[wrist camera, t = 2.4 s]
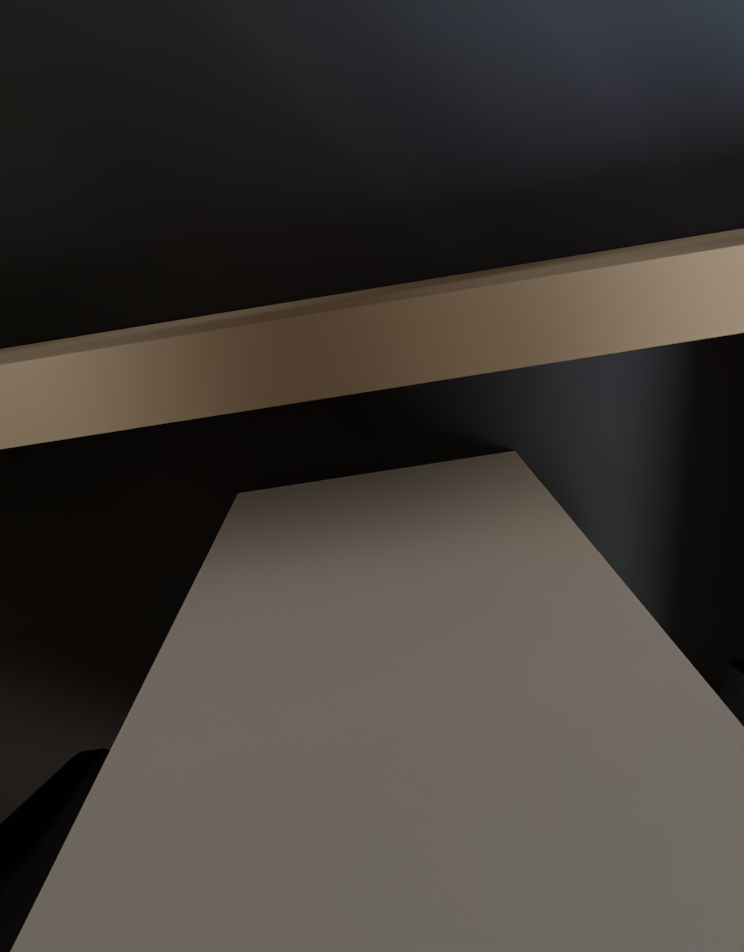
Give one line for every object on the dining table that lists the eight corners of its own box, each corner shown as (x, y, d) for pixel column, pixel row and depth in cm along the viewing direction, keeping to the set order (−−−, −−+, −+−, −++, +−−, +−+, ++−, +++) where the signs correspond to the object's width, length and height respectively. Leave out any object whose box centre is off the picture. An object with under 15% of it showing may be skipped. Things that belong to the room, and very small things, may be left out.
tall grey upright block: (514, 449, 8) (1097, 1151, 2) (529, 743, 11) (796, 1487, 4) (238, 492, 8) (-155, 1283, 2) (316, 772, 11) (257, 1537, 4)
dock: (890, 204, 7) (1155, 178, 5) (766, 803, 12) (871, 941, 9) (-167, 375, 7) (-402, 429, 5) (115, 888, 12) (58, 1040, 10)
